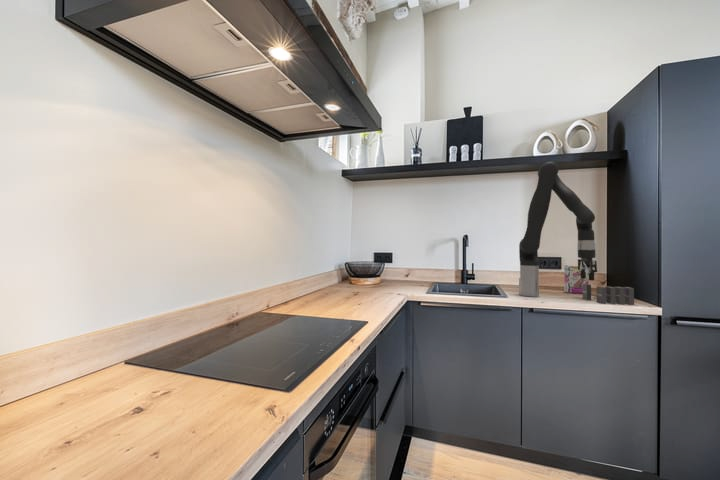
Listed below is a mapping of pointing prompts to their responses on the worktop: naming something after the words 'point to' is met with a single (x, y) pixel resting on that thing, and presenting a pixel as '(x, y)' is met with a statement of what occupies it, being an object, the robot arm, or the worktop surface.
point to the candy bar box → (573, 279)
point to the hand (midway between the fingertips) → (587, 279)
